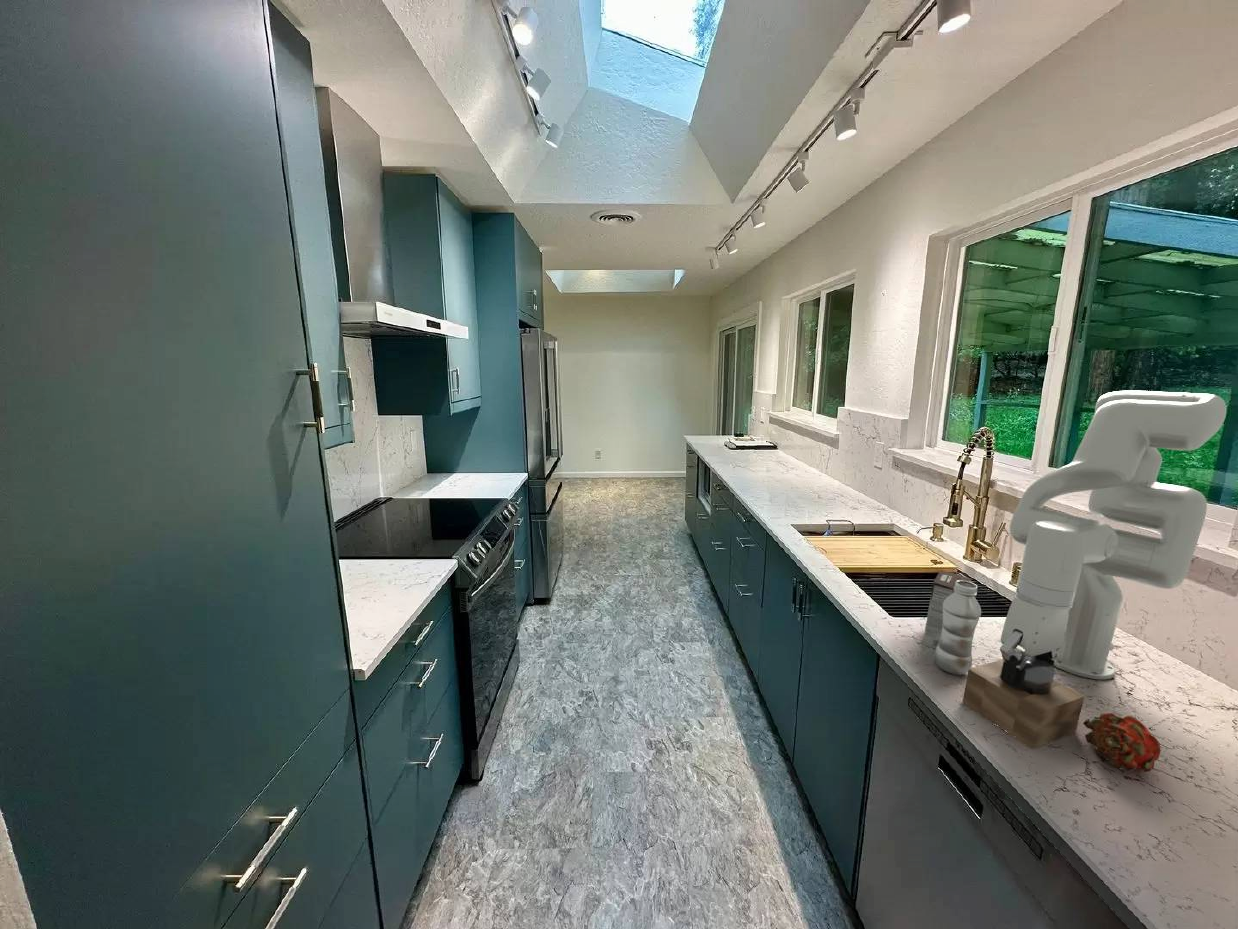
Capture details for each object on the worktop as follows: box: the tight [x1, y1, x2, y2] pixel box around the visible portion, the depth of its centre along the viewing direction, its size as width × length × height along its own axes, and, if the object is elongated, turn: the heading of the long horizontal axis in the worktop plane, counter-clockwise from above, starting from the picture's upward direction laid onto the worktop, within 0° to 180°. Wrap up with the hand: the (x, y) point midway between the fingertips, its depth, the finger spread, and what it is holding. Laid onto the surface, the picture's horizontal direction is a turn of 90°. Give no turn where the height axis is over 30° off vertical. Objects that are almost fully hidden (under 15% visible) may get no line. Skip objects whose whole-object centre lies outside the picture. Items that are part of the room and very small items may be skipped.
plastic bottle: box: [933, 580, 982, 676], centre depth 100 cm, size 6×7×20 cm
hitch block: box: [961, 658, 1085, 750], centre depth 88 cm, size 12×12×7 cm
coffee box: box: [922, 570, 973, 650], centre depth 110 cm, size 9×6×16 cm
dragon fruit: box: [1082, 713, 1162, 773], centre depth 78 cm, size 8×8×12 cm
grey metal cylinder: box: [1001, 651, 1056, 695], centre depth 87 cm, size 7×7×11 cm
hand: (1025, 679), depth 87 cm, fingers open, 7 cm apart
